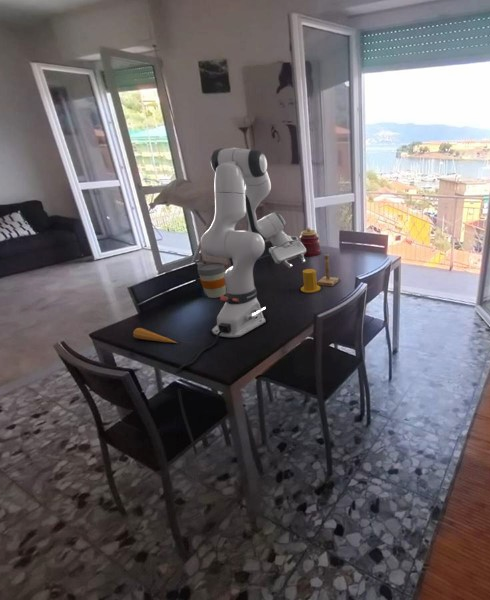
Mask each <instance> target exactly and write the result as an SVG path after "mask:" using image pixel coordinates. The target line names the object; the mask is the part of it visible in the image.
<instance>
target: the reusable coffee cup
mask: <svg viewBox="0 0 490 600" xmlns="http://www.w3.org/2000/svg"><path fill="white" fill-rule="evenodd" d="M225 272H226V268H225V264H224V263H223V262H218V261H217V262H216V261H214V262H206V263H203V264H200V265H199V266H197V275H198V276H199V281H200V283H201V286H202V288H203V289H204V291H205V294H206V296H207V298H210V299H216V298H221V296H226V291H227V288H226V283H225V278H224V274H225Z"/></svg>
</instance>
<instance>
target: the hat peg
mask: <svg viewBox="0 0 490 600" xmlns="http://www.w3.org/2000/svg"><path fill="white" fill-rule="evenodd" d="M324 265H325V276H324V275H323V276H322V277H321V278H320V279H319V280H318V281H317V285H319V286H324V287H325V286H326V287H334V286H335V285H336V284H337V283H339V281H340V277H334V276H331V272H330V258H329V254H327V253H326V254H324Z"/></svg>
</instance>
